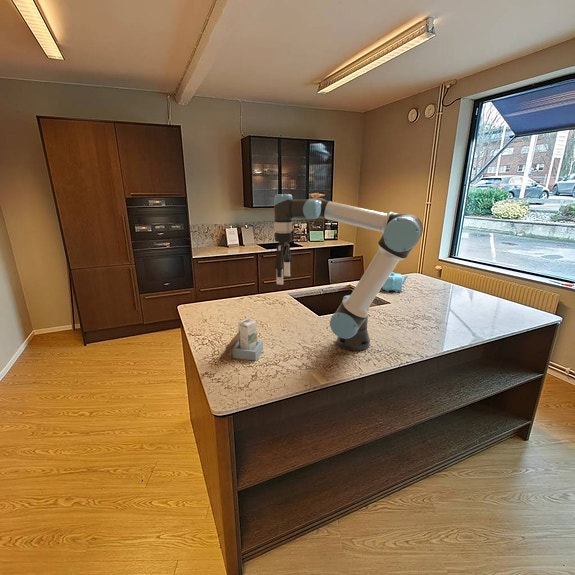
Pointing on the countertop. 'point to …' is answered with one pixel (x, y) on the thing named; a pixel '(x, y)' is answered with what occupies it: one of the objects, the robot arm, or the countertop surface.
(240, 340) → the syrup box
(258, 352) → the blue gray square tray
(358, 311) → the robot arm
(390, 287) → the teapot
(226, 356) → the base
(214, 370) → the countertop surface
